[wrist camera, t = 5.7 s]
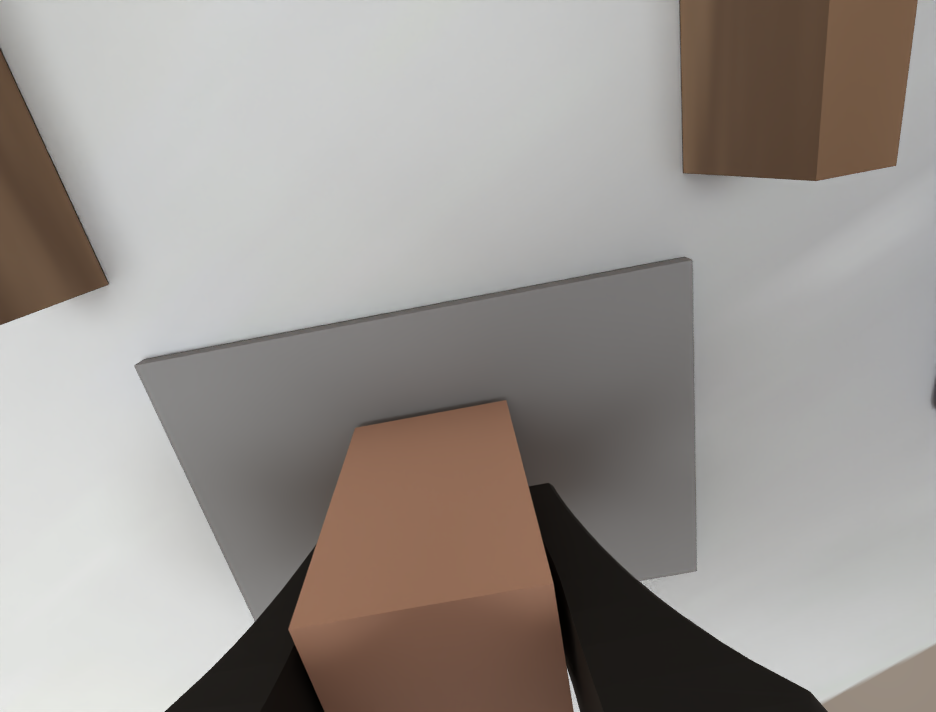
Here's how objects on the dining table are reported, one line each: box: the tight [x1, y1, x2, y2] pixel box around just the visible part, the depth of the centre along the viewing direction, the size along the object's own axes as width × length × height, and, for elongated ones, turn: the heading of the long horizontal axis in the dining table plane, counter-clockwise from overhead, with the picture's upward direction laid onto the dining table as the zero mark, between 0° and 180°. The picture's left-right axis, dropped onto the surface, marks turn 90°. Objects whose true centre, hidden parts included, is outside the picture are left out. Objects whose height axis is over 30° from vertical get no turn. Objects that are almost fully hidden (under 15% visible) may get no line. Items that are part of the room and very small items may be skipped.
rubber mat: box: [135, 257, 697, 621], centre depth 14 cm, size 14×10×1 cm
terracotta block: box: [288, 400, 574, 712], centre depth 11 cm, size 4×4×6 cm
